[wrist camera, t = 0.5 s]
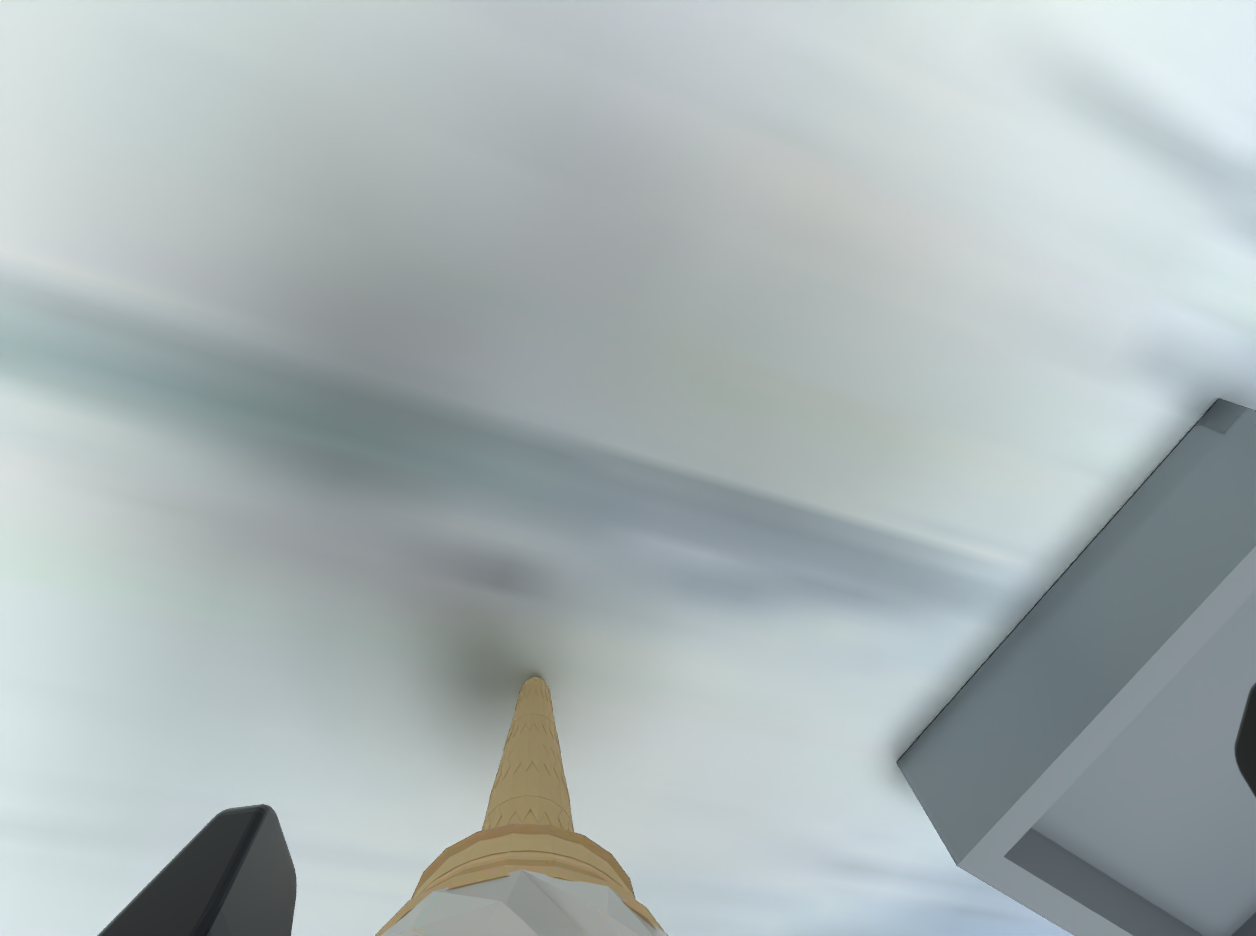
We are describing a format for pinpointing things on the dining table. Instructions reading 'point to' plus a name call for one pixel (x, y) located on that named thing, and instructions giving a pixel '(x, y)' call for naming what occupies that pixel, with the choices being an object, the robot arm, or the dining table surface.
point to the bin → (1120, 717)
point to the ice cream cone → (525, 855)
